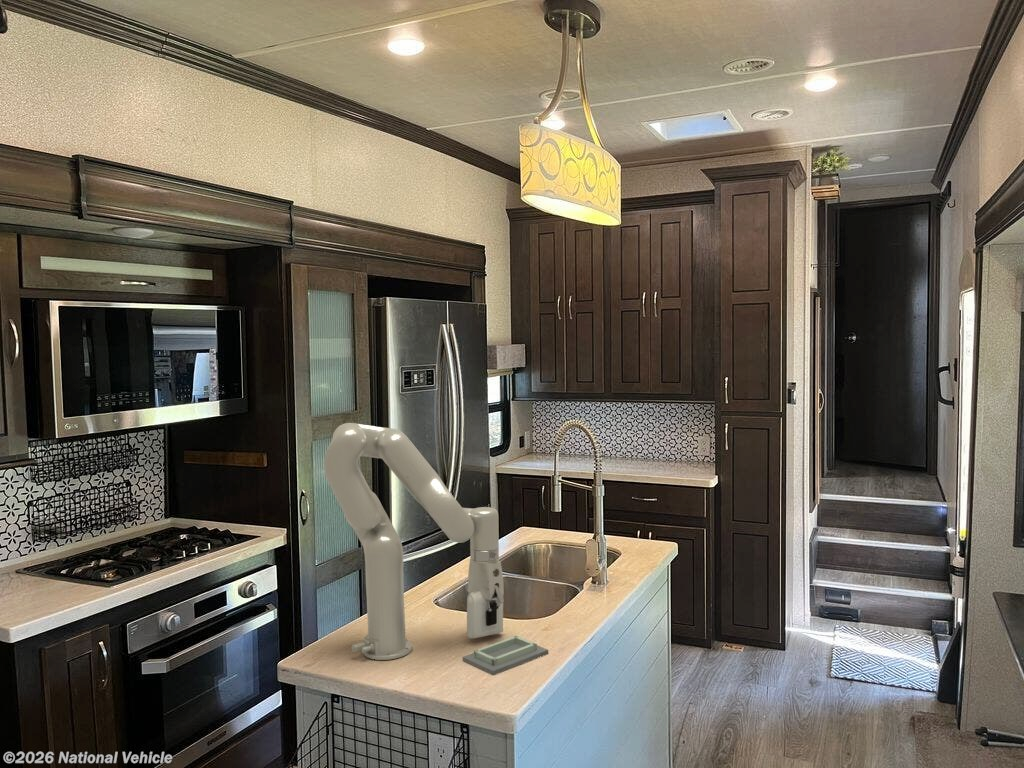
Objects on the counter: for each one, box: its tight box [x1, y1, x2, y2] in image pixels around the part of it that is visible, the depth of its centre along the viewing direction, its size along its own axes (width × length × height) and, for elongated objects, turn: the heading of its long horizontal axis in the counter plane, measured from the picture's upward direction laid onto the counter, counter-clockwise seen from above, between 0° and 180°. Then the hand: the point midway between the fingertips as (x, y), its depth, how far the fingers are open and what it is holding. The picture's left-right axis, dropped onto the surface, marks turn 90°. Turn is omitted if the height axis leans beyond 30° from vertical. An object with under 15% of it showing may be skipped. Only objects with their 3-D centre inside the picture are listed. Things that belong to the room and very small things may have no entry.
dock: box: [462, 635, 549, 676], centre depth 196 cm, size 18×12×2 cm, turn 131°
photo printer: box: [466, 590, 504, 639], centre depth 209 cm, size 10×4×12 cm, turn 124°
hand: (485, 621), depth 209 cm, fingers closed on photo printer, 4 cm apart
